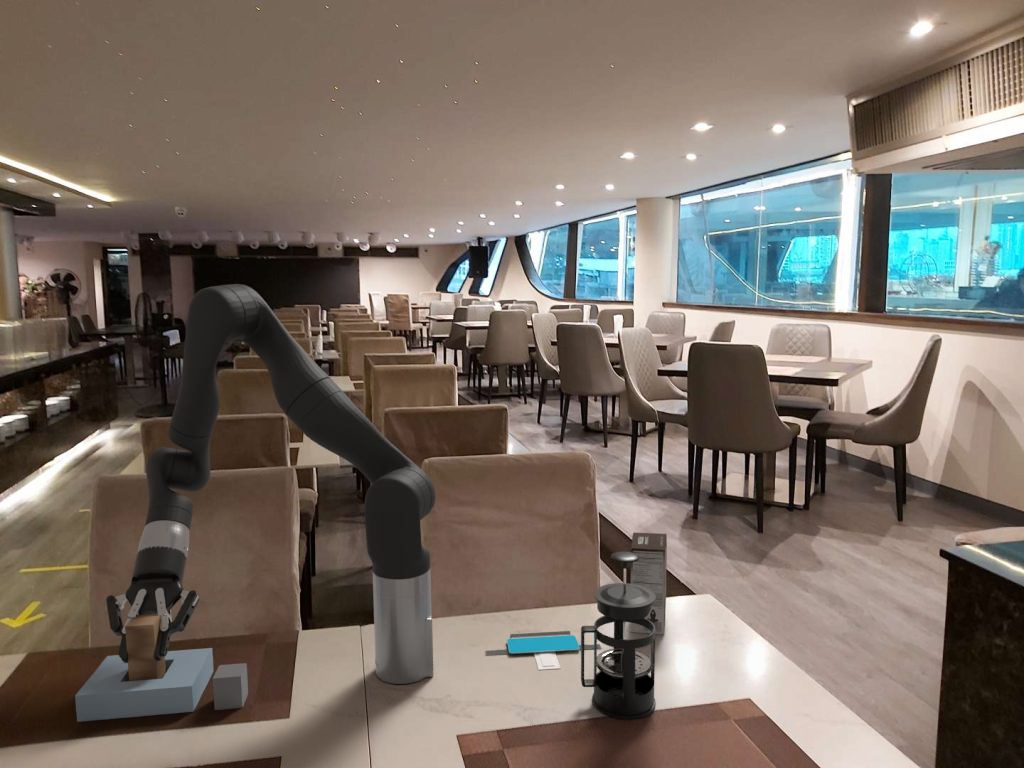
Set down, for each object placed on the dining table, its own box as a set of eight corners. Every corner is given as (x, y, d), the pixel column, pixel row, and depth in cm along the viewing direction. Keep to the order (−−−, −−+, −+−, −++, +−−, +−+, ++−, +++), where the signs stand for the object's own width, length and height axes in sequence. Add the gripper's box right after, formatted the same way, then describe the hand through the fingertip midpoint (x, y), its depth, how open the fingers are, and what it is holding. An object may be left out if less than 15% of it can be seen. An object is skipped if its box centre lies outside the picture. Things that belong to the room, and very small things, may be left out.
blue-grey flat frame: (213, 671, 120) (212, 647, 120) (193, 711, 109) (191, 686, 108) (109, 679, 118) (107, 655, 118) (77, 721, 106) (75, 695, 106)
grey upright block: (248, 693, 114) (246, 663, 113) (242, 707, 110) (240, 676, 109) (221, 695, 113) (219, 665, 112) (214, 710, 109) (212, 678, 108)
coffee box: (631, 611, 142) (632, 531, 140) (665, 614, 140) (666, 533, 138) (629, 632, 133) (630, 547, 131) (665, 635, 131) (667, 549, 130)
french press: (653, 685, 115) (655, 543, 112) (666, 719, 105) (668, 565, 103) (578, 686, 115) (578, 544, 112) (584, 720, 105) (585, 566, 103)
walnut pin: (166, 673, 115) (161, 613, 114) (157, 687, 111) (153, 624, 110) (139, 675, 115) (134, 615, 114) (129, 689, 111) (125, 626, 110)
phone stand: (488, 676, 119) (488, 667, 119) (483, 642, 131) (483, 633, 131) (609, 669, 121) (609, 659, 121) (594, 636, 133) (594, 627, 133)
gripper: (108, 547, 117) (82, 655, 107) (202, 542, 119) (185, 648, 109) (123, 567, 123) (99, 672, 112) (212, 561, 125) (197, 664, 115)
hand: (142, 659), depth 111 cm, fingers closed on walnut pin, 4 cm apart
